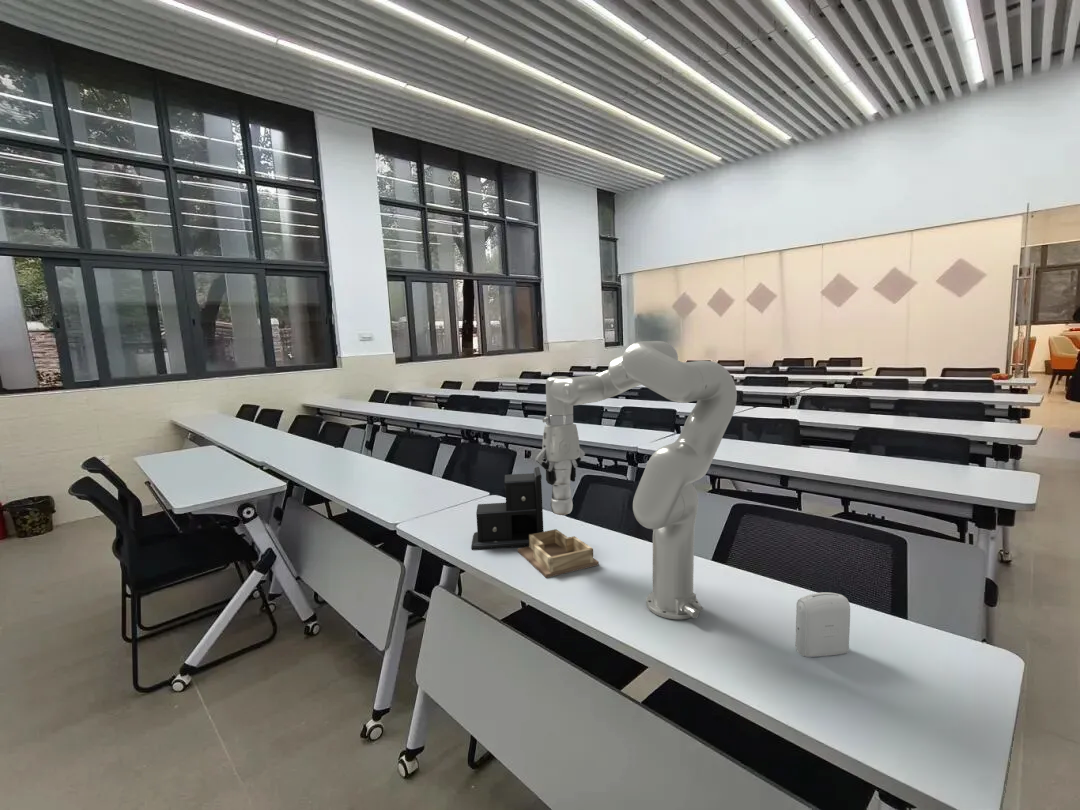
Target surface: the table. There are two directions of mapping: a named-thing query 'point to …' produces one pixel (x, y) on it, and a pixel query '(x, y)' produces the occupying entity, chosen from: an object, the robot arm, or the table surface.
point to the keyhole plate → (557, 553)
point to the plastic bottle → (561, 488)
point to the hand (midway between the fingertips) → (561, 481)
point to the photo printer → (822, 624)
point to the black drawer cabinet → (511, 514)
